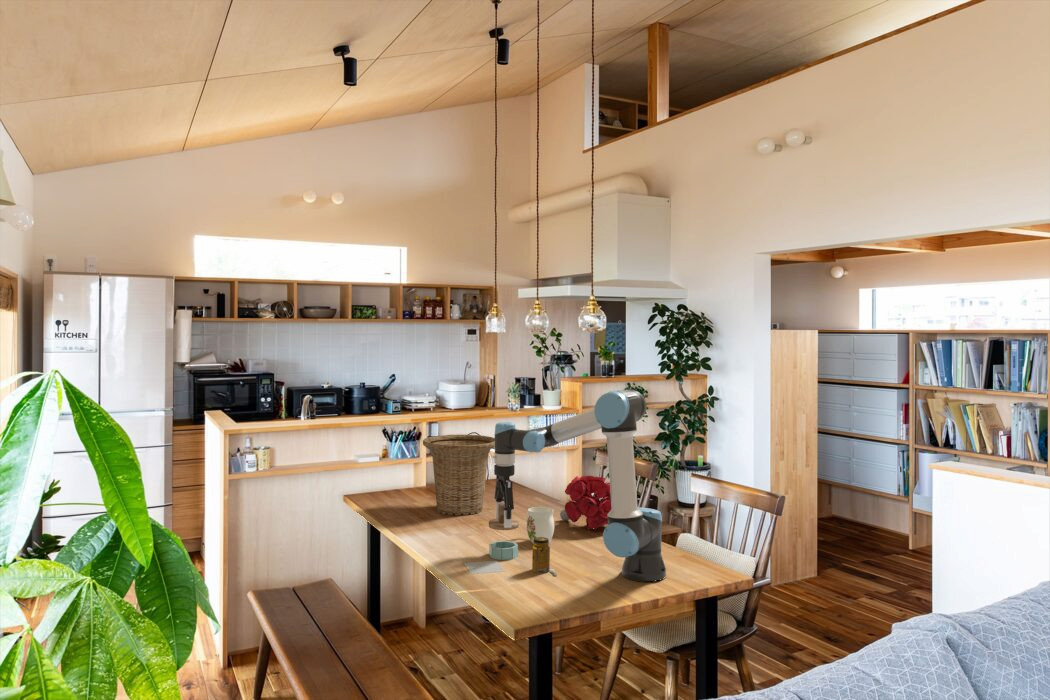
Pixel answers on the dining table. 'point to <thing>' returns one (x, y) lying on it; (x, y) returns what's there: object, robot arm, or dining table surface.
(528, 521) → the pitcher
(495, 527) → the lid
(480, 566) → the mat
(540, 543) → the condiment
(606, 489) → the bouquet
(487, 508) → the dining table surface
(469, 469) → the wicker basket
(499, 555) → the bowl
